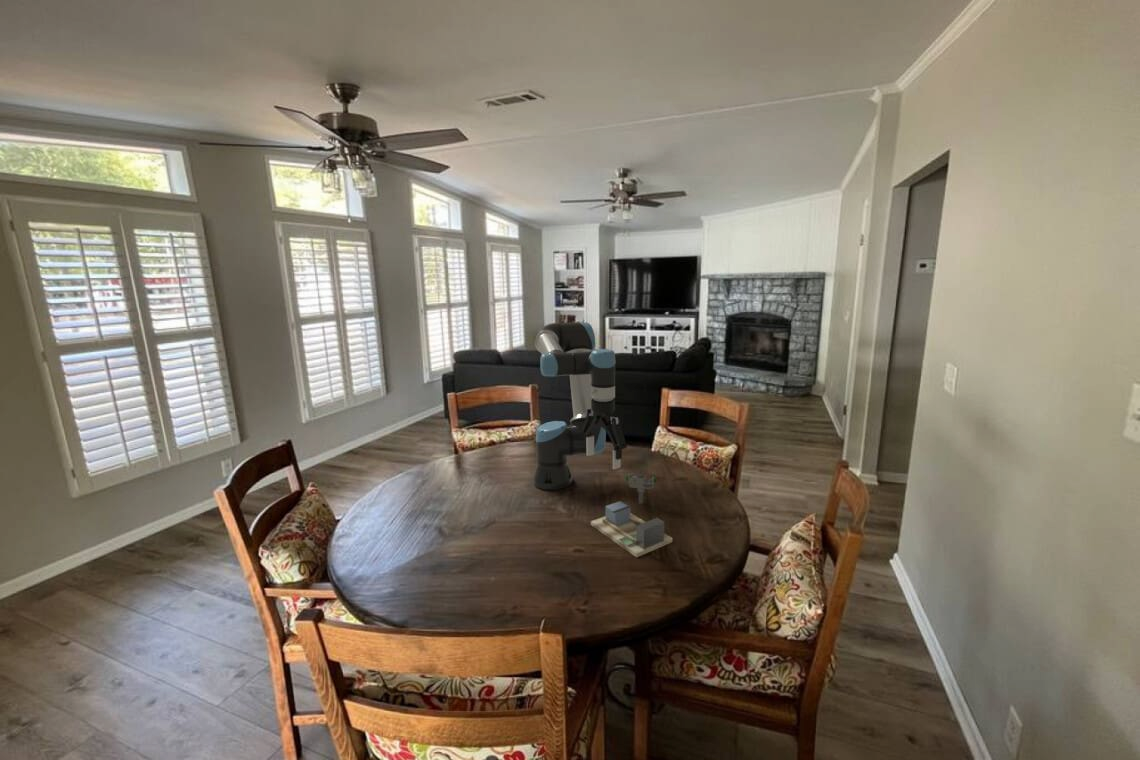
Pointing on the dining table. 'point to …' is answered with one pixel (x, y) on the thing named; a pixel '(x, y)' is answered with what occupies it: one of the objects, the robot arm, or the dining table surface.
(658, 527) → the dark grey textured box
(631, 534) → the board
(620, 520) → the carriage
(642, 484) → the mechanical component
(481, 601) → the dining table surface
